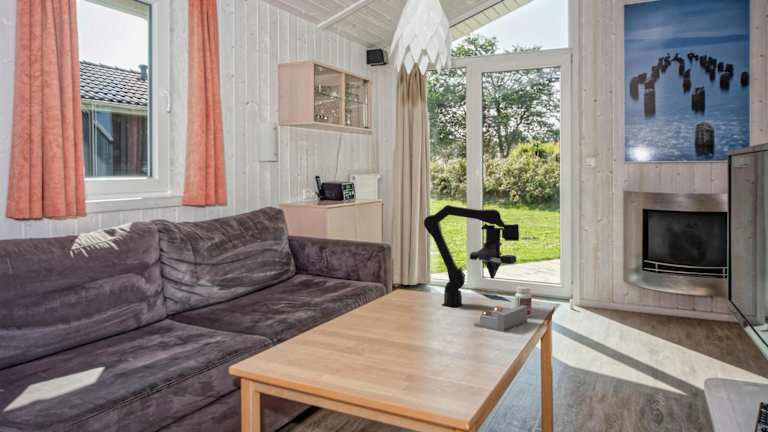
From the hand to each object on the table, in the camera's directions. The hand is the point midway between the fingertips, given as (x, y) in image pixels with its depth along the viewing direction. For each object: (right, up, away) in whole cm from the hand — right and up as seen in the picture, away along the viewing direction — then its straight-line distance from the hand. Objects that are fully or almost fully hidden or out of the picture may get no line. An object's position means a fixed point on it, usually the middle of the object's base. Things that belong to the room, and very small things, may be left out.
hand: (492, 278), depth 229 cm
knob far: (+1, -12, -21) cm, 24 cm away
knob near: (-5, -13, -27) cm, 30 cm away
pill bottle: (+9, -13, -13) cm, 21 cm away
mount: (-1, -14, -24) cm, 28 cm away
